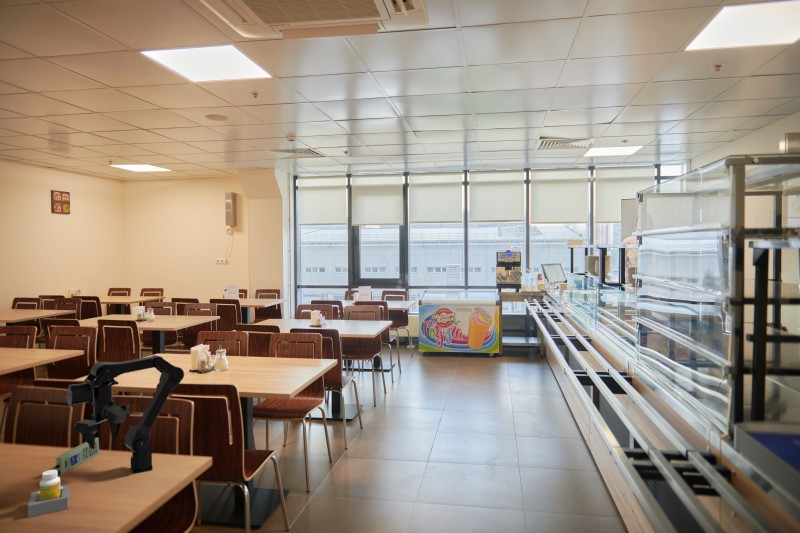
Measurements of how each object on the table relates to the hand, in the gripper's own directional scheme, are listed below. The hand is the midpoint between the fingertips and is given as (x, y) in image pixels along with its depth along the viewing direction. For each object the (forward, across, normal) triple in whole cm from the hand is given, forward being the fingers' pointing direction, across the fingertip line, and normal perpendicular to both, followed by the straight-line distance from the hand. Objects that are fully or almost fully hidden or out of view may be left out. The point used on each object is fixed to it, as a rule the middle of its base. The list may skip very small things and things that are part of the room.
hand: (103, 443), depth 178 cm
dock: (+13, -19, +2) cm, 23 cm away
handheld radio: (+14, +7, +21) cm, 26 cm away
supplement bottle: (+12, -19, +2) cm, 23 cm away
